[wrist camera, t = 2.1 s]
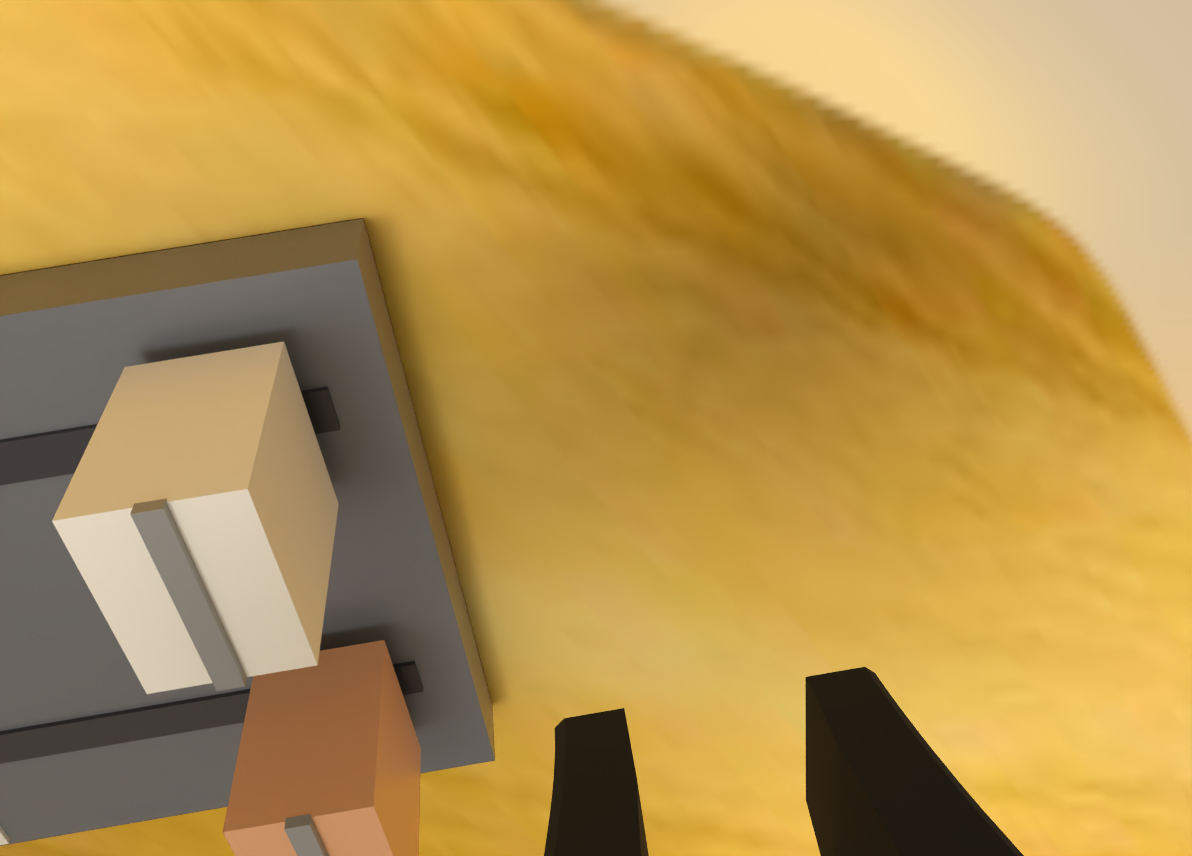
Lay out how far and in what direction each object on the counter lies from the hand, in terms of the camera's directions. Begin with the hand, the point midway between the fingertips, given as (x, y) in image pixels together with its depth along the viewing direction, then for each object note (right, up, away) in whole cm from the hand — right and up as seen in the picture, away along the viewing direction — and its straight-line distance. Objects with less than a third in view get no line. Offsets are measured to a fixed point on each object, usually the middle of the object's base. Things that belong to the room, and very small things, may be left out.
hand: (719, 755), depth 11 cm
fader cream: (-7, +3, +6) cm, 10 cm away
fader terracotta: (-6, -2, +10) cm, 12 cm away
